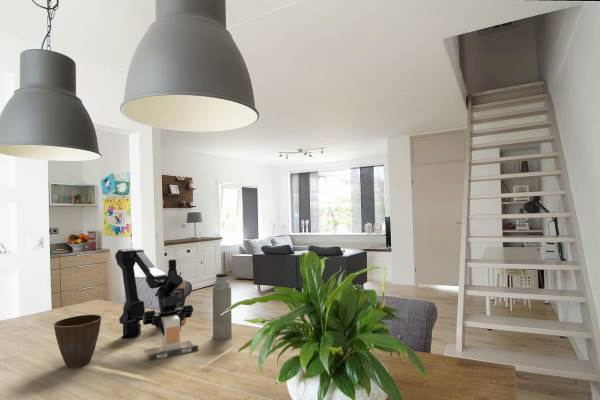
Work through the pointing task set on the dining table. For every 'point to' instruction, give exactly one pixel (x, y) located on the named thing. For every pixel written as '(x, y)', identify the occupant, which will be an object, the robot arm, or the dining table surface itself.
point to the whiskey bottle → (180, 290)
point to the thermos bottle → (221, 308)
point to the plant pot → (77, 338)
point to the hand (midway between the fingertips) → (171, 333)
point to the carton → (171, 333)
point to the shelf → (160, 352)
